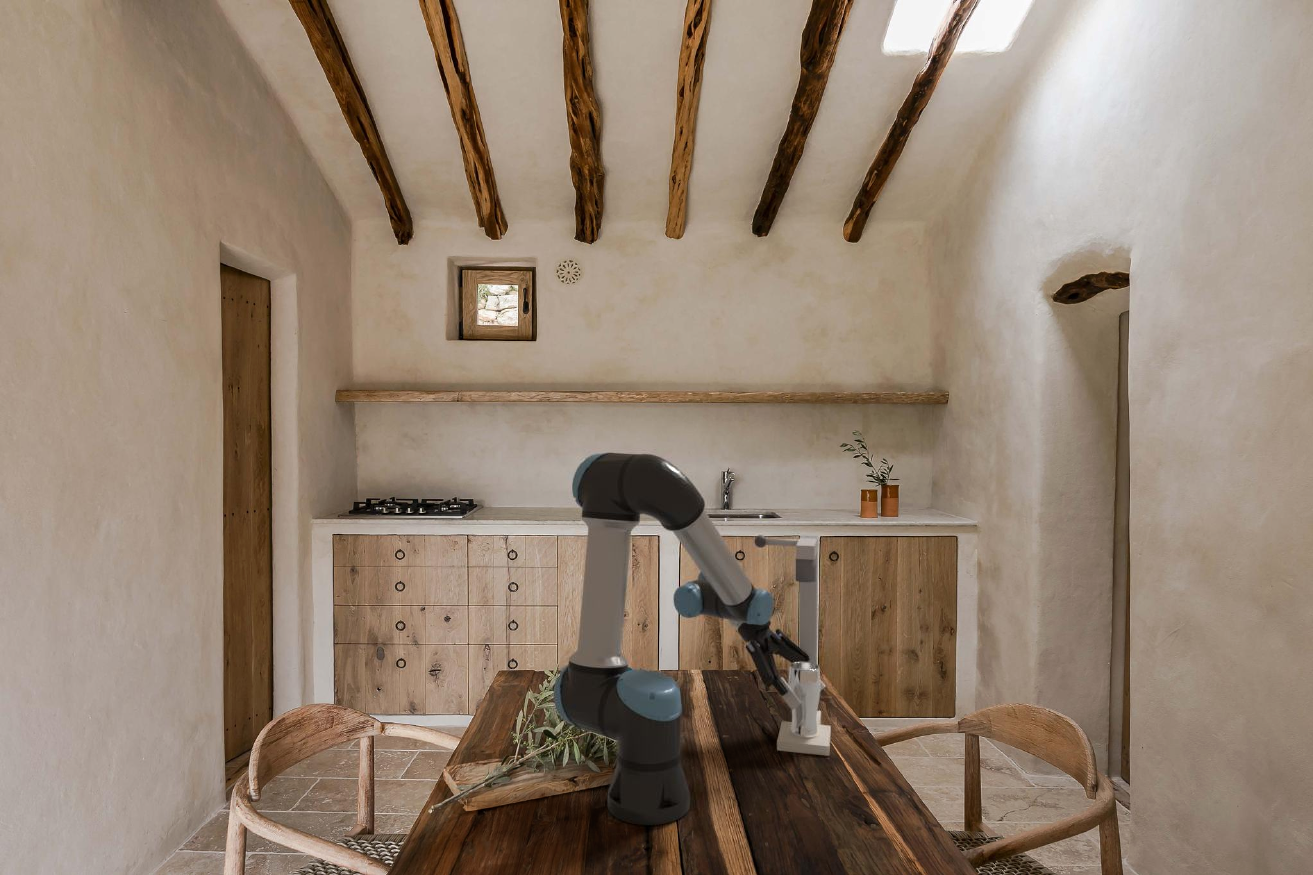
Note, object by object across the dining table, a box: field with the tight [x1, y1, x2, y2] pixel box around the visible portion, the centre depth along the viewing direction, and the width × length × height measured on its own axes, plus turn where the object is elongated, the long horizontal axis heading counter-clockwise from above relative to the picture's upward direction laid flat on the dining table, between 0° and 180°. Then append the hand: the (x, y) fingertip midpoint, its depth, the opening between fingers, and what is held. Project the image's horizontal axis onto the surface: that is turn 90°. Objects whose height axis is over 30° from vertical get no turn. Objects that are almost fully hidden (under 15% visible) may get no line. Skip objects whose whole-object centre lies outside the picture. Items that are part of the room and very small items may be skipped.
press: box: [753, 534, 832, 757], centre depth 175 cm, size 21×18×44 cm
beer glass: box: [788, 661, 821, 738], centre depth 170 cm, size 7×7×15 cm
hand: (809, 697), depth 169 cm, fingers open, 12 cm apart
